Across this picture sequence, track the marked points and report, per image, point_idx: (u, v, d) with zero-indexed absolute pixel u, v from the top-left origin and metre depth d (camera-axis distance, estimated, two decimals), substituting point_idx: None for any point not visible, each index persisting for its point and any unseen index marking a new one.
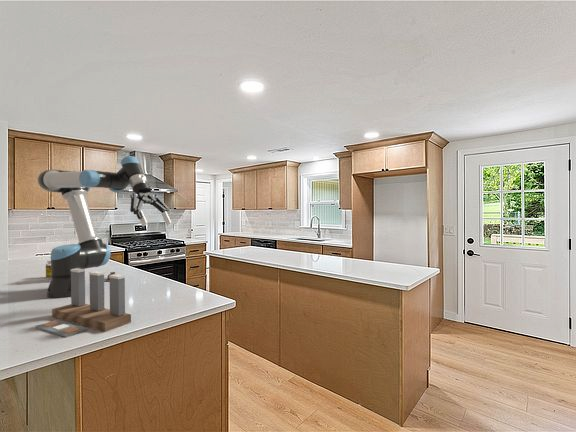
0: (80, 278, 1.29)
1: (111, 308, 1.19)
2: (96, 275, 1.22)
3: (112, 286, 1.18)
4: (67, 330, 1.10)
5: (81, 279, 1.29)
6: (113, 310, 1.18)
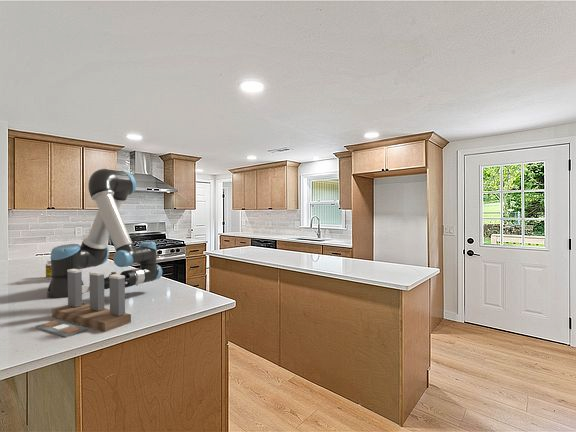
0: (77, 279, 1.27)
1: (111, 308, 1.19)
2: (96, 275, 1.22)
3: (112, 286, 1.18)
4: (67, 330, 1.10)
5: (78, 279, 1.28)
6: (113, 310, 1.18)
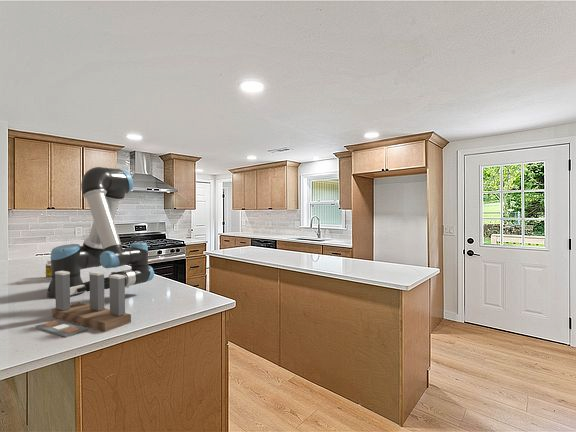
0: (65, 281, 1.23)
1: (111, 308, 1.19)
2: (96, 275, 1.22)
3: (112, 286, 1.18)
4: (67, 330, 1.10)
5: (66, 282, 1.24)
6: (113, 310, 1.18)
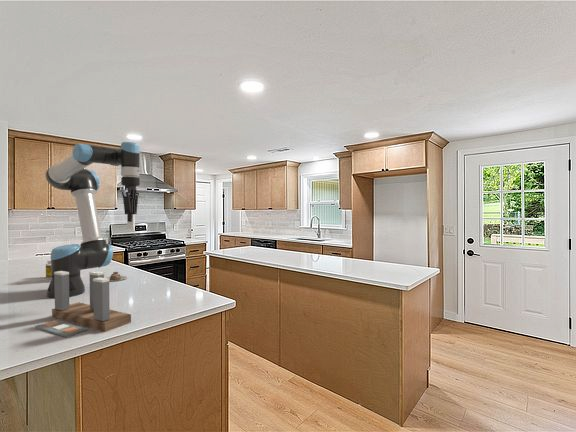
0: (64, 281, 1.23)
1: (95, 313, 1.14)
2: (96, 275, 1.22)
3: (96, 290, 1.13)
4: (67, 330, 1.10)
5: (65, 282, 1.23)
6: (97, 315, 1.13)
